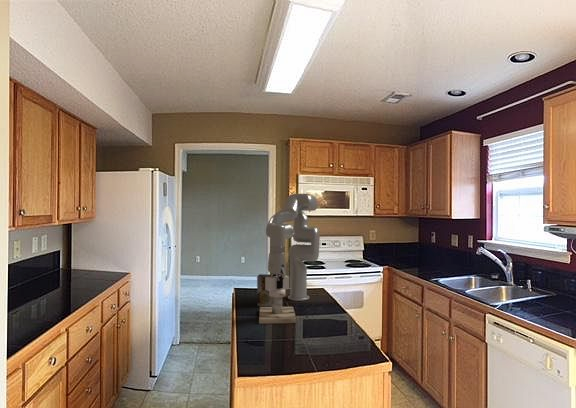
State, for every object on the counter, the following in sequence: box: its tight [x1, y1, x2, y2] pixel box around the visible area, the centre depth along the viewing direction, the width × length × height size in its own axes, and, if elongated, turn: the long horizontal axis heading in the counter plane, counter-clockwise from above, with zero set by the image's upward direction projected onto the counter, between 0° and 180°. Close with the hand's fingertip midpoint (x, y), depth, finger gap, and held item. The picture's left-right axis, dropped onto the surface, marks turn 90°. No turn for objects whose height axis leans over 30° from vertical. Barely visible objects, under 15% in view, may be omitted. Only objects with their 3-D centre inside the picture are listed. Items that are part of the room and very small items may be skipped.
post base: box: [258, 297, 297, 325], centre depth 170 cm, size 20×17×10 cm
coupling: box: [265, 275, 290, 298], centre depth 169 cm, size 10×11×9 cm
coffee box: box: [256, 273, 272, 307], centre depth 191 cm, size 9×6×16 cm
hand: (277, 287), depth 170 cm, fingers closed on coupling, 4 cm apart
